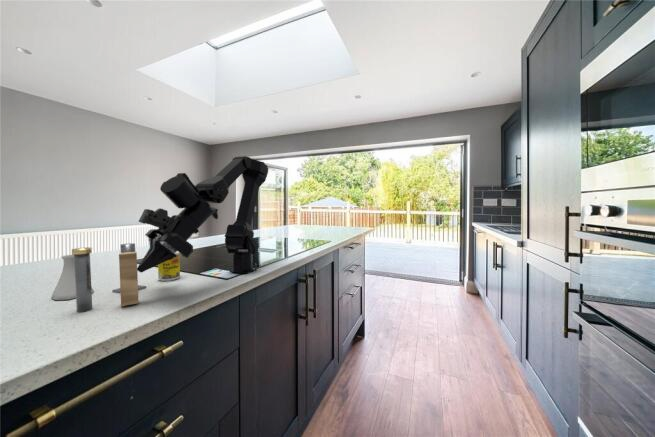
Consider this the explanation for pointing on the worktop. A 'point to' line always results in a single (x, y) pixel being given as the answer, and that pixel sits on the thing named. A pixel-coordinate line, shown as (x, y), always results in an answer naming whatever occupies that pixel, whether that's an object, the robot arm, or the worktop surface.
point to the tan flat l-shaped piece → (128, 278)
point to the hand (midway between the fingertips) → (138, 271)
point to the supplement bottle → (169, 269)
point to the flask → (66, 281)
